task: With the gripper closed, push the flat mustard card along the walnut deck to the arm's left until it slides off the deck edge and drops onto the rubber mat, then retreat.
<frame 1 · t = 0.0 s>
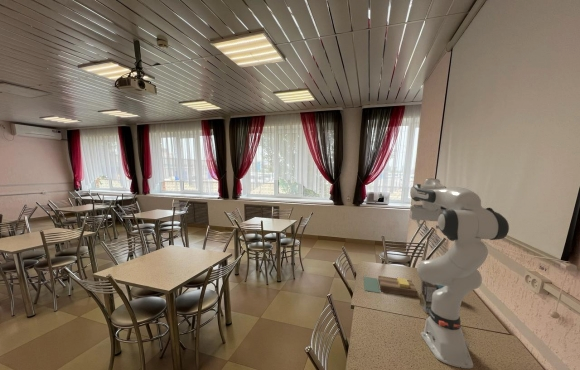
hand: (428, 227, 132), 48 cm above the table, fingers open, 8 cm apart
deck: (396, 288, 152), on the table
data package: (445, 295, 145), on the table
card: (402, 283, 151), point 4 cm above the table, touching deck
coffee box: (427, 309, 130), on the table
mat: (371, 284, 157), on the table
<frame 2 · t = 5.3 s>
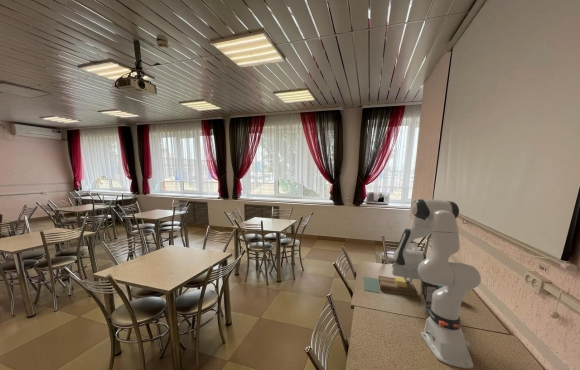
hand: (407, 283, 150), 5 cm above the table, fingers closed
card: (400, 283, 151), point 4 cm above the table, touching deck
everything else where it was.
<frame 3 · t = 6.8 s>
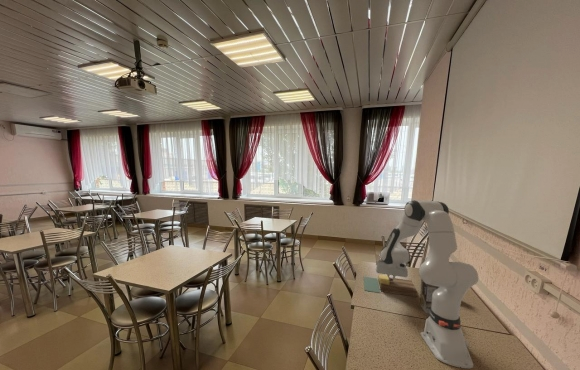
hand: (390, 280, 153), 5 cm above the table, fingers closed
card: (383, 280, 155), point 4 cm above the table, touching deck, gripper
everything else where it was.
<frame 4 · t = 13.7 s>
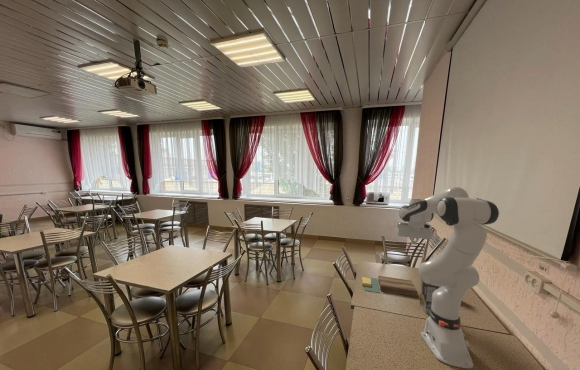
hand: (413, 244, 144), 34 cm above the table, fingers closed
card: (366, 280, 158), point 2 cm above the table, tilted 180°, touching mat
everything else where it was.
at the end: card inside the target area on the mat (3.3 cm from its centre), point 2.3 cm above the mat's base; card point 2.3 cm above the table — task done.
